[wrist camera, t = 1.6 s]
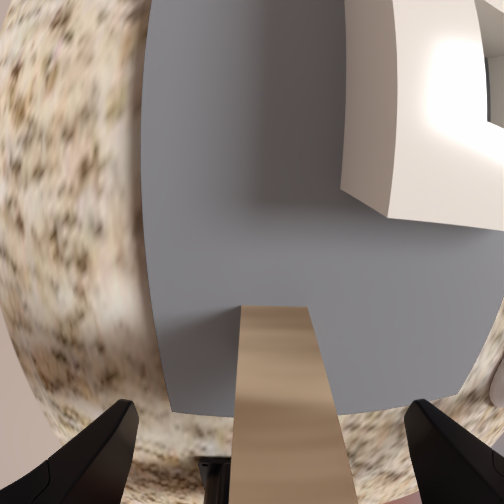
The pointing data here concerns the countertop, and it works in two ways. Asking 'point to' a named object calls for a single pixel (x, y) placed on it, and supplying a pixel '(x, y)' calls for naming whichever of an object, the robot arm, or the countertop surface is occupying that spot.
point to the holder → (425, 110)
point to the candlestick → (498, 386)
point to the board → (289, 216)
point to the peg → (285, 415)
